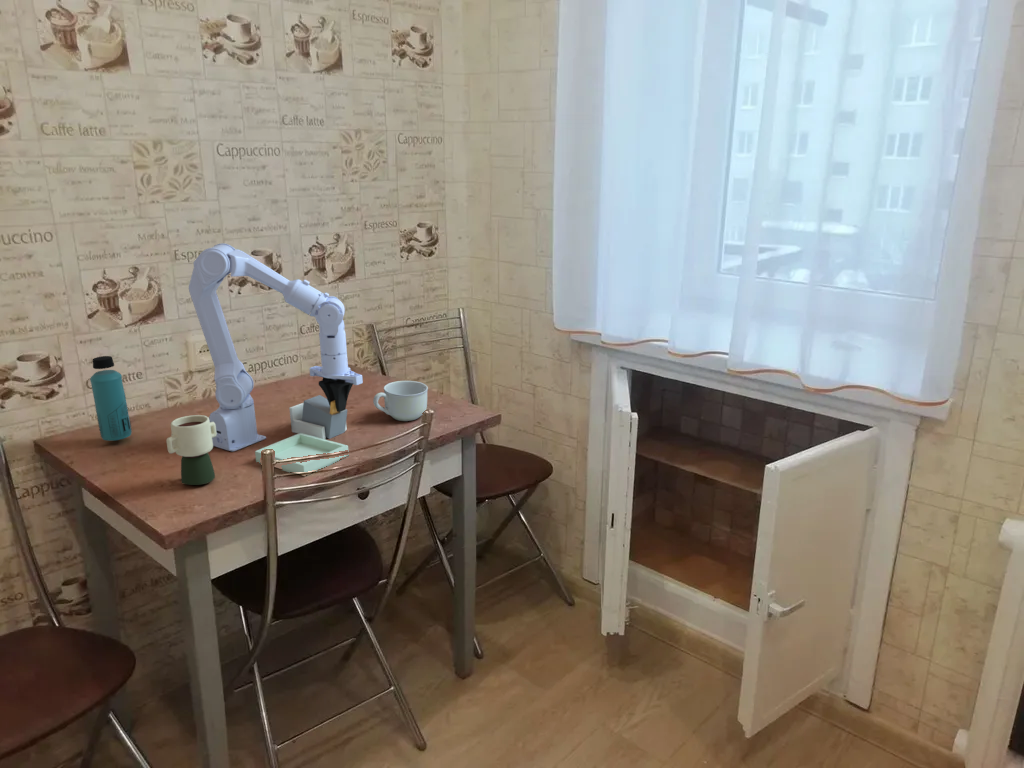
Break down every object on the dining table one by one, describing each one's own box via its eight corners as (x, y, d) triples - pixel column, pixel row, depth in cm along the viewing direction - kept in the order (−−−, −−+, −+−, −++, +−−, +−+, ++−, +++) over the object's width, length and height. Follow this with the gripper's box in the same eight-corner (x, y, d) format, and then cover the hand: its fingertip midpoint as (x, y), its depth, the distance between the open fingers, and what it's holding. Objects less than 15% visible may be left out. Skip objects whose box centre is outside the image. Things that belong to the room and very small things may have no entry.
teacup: (420, 407, 190) (419, 377, 187) (435, 420, 180) (433, 389, 178) (367, 415, 184) (365, 385, 182) (379, 429, 175) (377, 397, 172)
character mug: (209, 468, 153) (201, 409, 149) (233, 475, 150) (225, 415, 146) (163, 488, 144) (153, 426, 140) (186, 496, 141) (177, 432, 137)
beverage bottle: (128, 446, 165) (113, 360, 159) (96, 448, 164) (80, 361, 158) (137, 435, 171) (123, 352, 166) (107, 437, 170) (91, 354, 164)
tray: (304, 477, 149) (303, 465, 148) (256, 462, 156) (254, 451, 155) (348, 456, 159) (348, 445, 158) (301, 443, 166) (300, 432, 166)
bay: (323, 440, 168) (320, 415, 166) (291, 431, 173) (289, 407, 172) (346, 430, 174) (344, 406, 172) (315, 422, 179) (313, 398, 178)
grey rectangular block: (329, 438, 169) (333, 404, 165) (301, 423, 173) (304, 389, 169) (344, 432, 173) (348, 398, 169) (317, 417, 177) (320, 383, 173)
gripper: (370, 352, 164) (374, 410, 168) (323, 344, 171) (328, 399, 175) (347, 359, 158) (352, 419, 162) (300, 351, 166) (306, 408, 170)
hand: (338, 409), depth 168 cm, fingers closed, pressing on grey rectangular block
